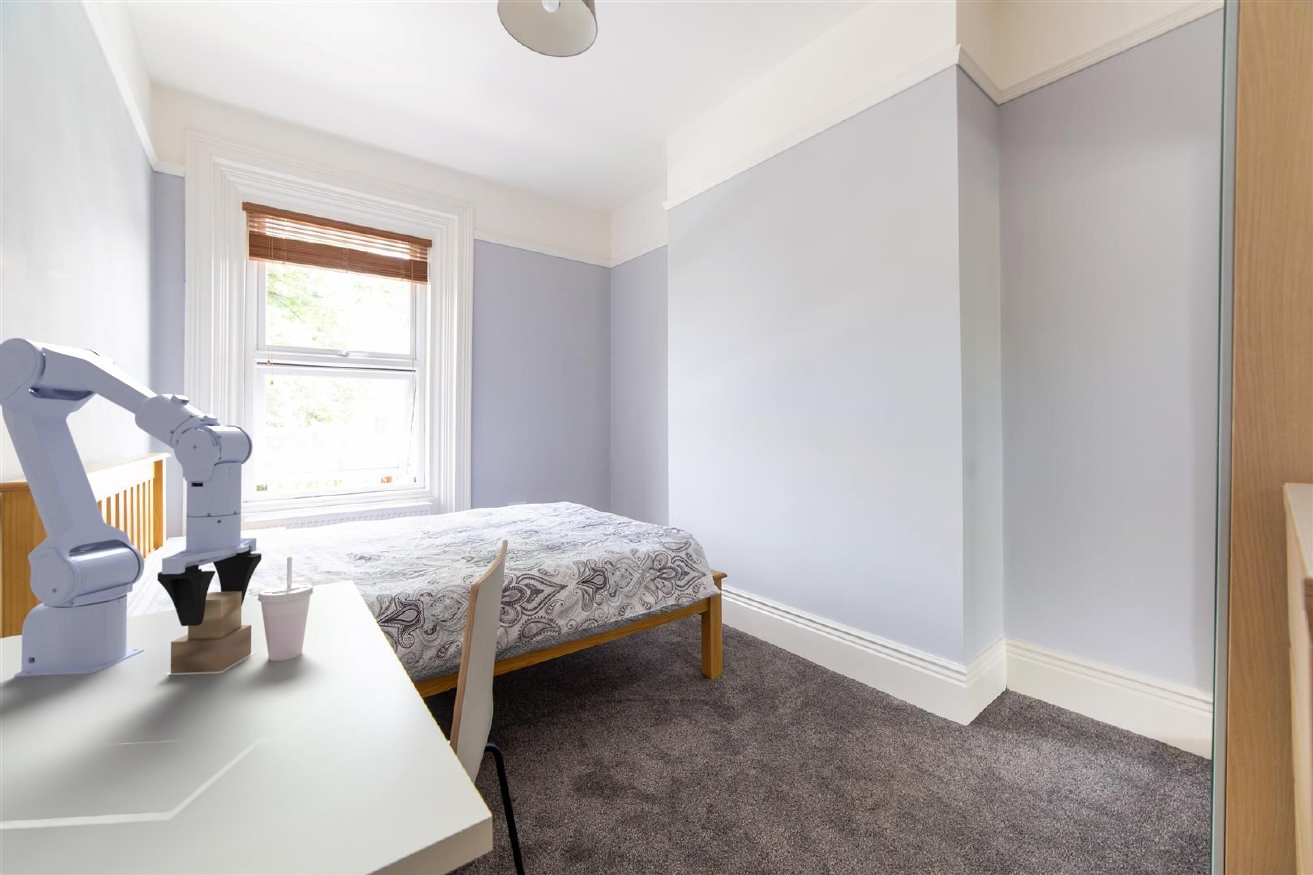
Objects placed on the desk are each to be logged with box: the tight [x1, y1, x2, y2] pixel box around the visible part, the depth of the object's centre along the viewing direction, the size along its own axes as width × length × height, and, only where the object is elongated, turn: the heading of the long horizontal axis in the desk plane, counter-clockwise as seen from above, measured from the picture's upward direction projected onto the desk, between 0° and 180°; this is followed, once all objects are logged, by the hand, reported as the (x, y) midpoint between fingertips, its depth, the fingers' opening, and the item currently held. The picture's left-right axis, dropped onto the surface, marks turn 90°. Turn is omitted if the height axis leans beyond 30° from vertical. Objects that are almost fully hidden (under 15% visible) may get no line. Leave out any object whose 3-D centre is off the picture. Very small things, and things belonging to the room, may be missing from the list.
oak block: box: [187, 591, 242, 639], centre depth 73 cm, size 4×4×5 cm
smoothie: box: [257, 556, 314, 662], centre depth 75 cm, size 6×6×14 cm
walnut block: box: [170, 624, 252, 673], centre depth 73 cm, size 6×6×4 cm
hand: (213, 615), depth 73 cm, fingers open, 7 cm apart
